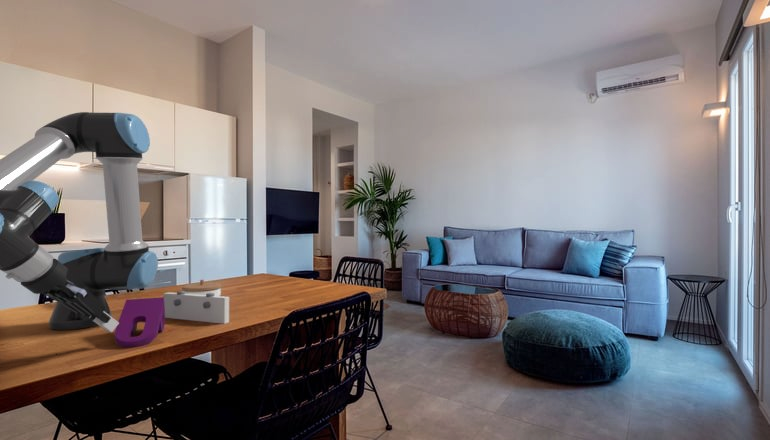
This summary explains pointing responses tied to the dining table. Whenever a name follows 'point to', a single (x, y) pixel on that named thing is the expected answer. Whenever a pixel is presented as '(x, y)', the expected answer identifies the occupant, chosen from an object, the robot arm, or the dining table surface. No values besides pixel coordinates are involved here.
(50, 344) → the dining table surface
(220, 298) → the hinge seat
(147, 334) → the mounting bracket
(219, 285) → the lidded bowl
